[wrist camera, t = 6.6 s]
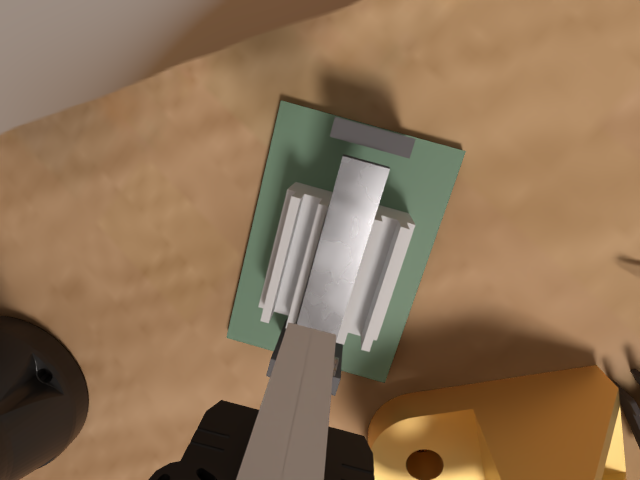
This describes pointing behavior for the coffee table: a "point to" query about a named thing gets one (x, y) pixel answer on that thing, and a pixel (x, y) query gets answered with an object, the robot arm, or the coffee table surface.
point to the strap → (342, 244)
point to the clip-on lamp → (631, 407)
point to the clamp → (504, 430)
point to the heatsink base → (322, 170)
